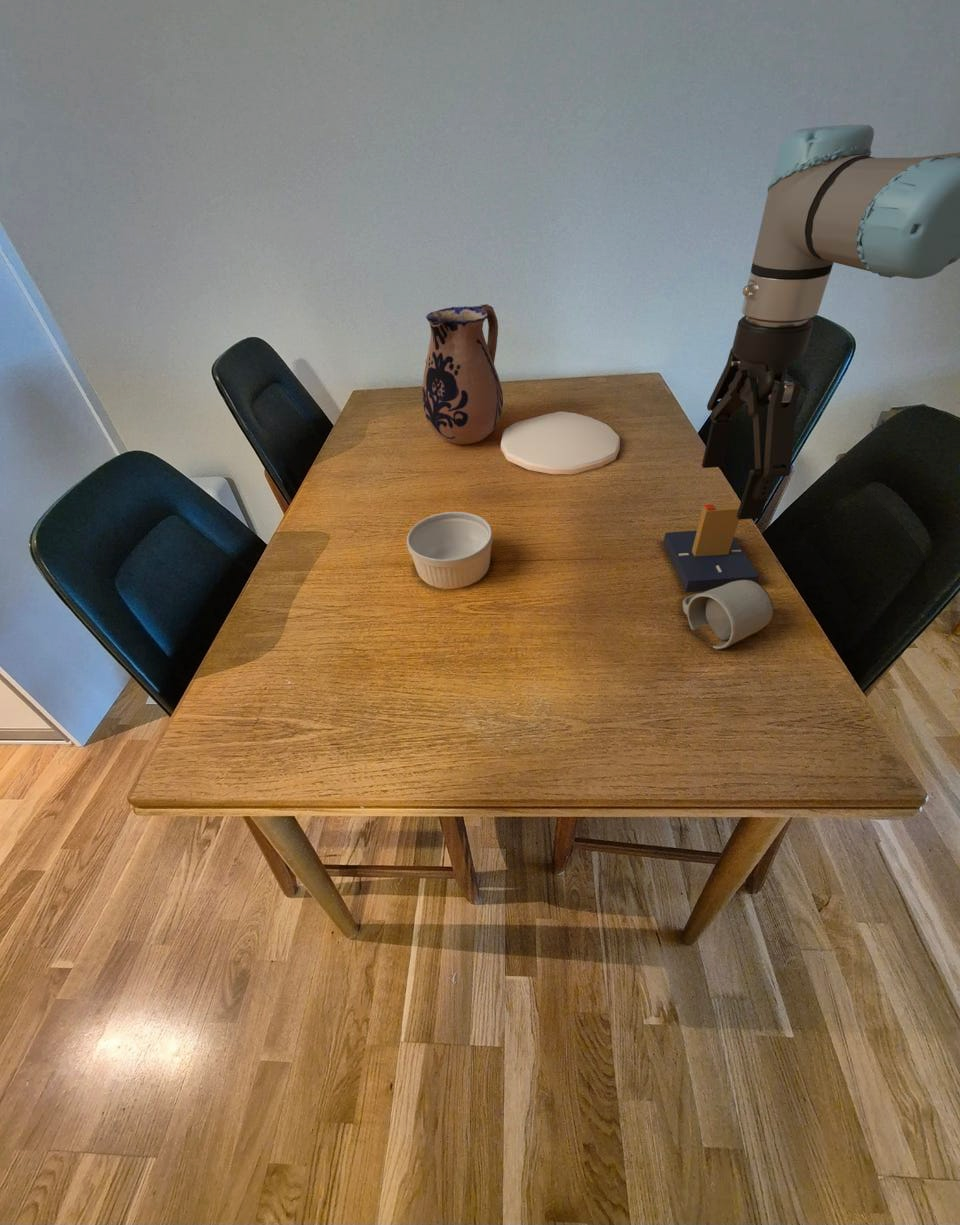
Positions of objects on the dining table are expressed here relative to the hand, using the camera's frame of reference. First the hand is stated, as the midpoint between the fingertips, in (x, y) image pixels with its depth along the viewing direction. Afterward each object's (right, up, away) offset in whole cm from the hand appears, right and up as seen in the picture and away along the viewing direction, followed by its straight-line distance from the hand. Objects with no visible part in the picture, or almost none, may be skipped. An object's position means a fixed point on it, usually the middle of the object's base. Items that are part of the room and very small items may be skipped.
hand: (728, 490), depth 72 cm
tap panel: (+1, -10, +10) cm, 14 cm away
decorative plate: (-17, +18, +42) cm, 49 cm away
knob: (+1, -8, +8) cm, 11 cm away
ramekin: (-38, -10, +14) cm, 42 cm away
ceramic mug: (-2, -19, +1) cm, 19 cm away
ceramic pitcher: (-36, +25, +50) cm, 67 cm away
